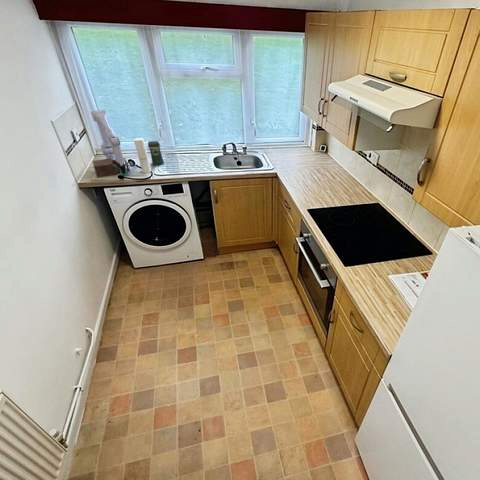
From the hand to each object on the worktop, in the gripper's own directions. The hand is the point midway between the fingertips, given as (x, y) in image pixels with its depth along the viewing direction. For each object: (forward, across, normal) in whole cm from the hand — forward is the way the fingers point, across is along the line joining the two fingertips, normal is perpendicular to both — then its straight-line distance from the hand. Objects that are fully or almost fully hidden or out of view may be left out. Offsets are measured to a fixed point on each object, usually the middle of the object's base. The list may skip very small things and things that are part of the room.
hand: (123, 171), depth 236 cm
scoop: (+3, 0, +2) cm, 3 cm away
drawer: (+2, +11, -1) cm, 11 cm away
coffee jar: (+3, +16, -30) cm, 34 cm away
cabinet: (+3, +11, +12) cm, 17 cm away
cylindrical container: (+3, +2, -17) cm, 18 cm away
